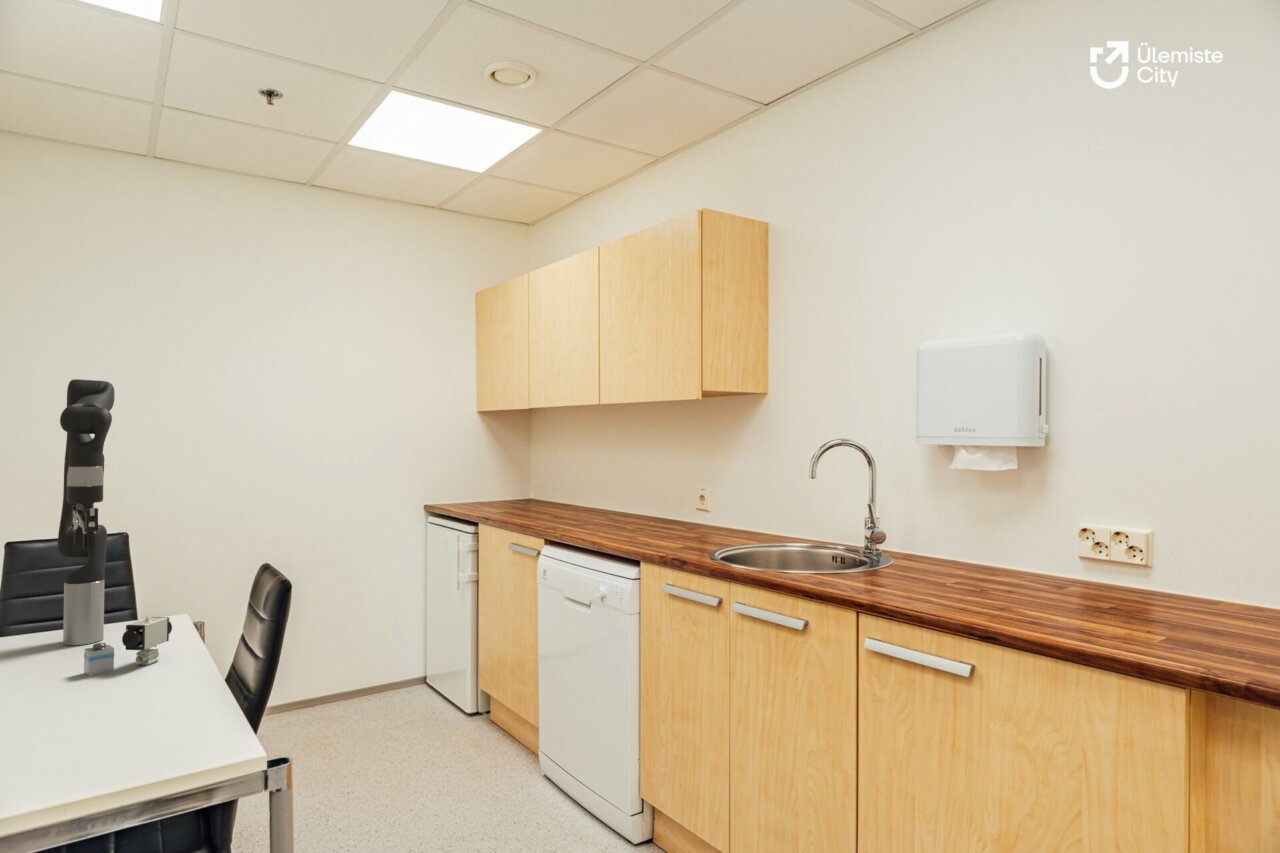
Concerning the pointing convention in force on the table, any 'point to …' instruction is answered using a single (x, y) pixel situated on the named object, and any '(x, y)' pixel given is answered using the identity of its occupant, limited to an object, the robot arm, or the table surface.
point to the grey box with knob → (99, 660)
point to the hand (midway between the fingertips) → (84, 547)
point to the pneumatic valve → (147, 638)
